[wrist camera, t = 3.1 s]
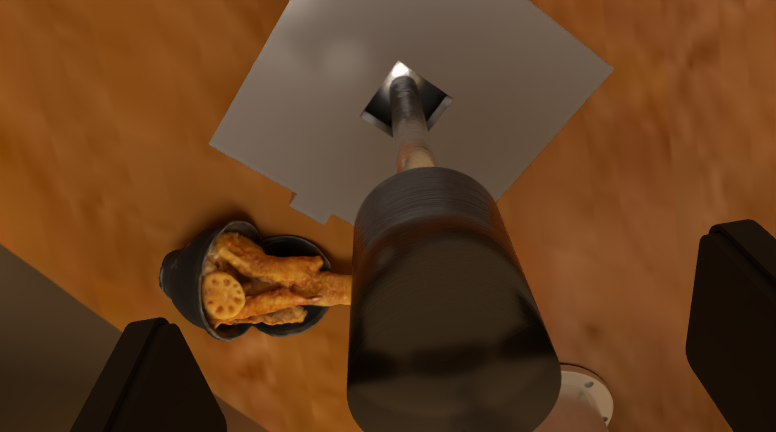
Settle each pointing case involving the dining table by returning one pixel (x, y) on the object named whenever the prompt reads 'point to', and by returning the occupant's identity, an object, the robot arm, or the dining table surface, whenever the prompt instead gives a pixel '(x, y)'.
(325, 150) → the white grey-topped cylinder
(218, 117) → the dining table surface
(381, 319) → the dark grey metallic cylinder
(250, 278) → the fried shrimp in bowl
